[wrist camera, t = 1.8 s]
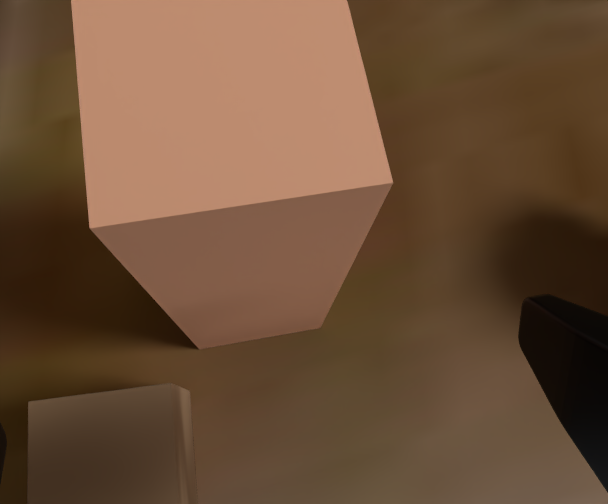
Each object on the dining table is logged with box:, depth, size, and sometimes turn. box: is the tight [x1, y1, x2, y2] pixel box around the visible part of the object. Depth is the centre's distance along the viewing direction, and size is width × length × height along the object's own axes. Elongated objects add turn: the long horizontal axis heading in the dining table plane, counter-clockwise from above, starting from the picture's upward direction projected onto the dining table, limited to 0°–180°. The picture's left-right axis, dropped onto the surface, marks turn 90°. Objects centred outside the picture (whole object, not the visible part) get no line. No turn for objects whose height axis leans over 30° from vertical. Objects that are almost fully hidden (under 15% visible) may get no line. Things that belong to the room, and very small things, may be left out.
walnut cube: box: [27, 383, 198, 504], centre depth 17 cm, size 4×4×4 cm
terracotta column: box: [71, 0, 393, 349], centre depth 15 cm, size 4×4×13 cm
